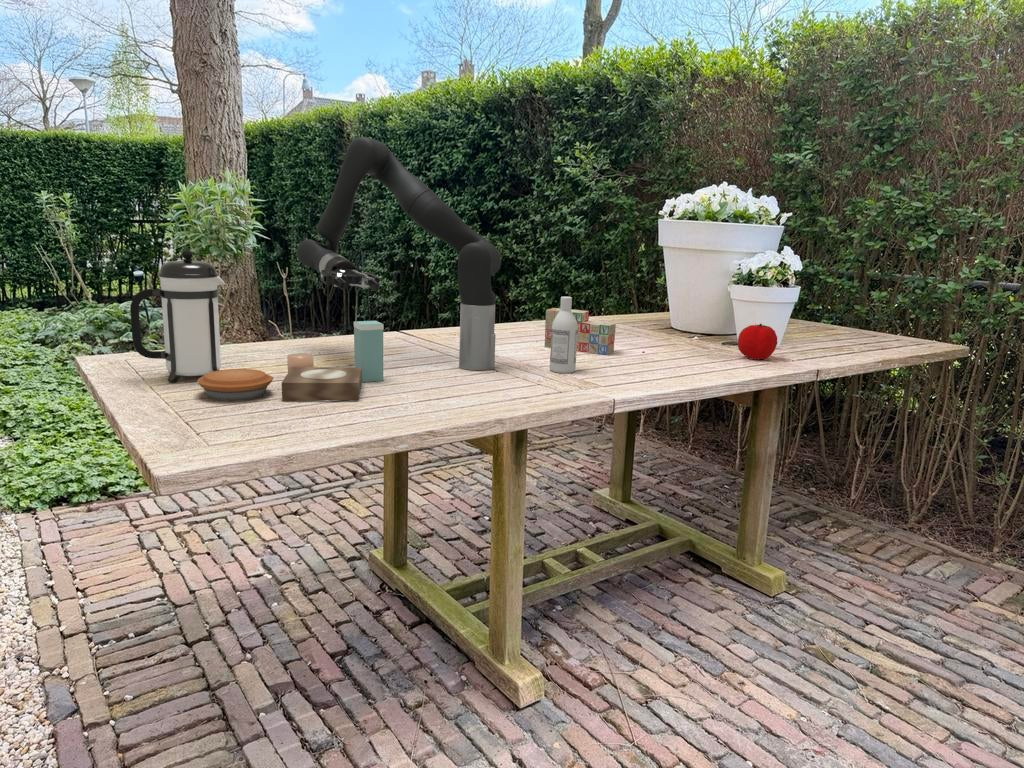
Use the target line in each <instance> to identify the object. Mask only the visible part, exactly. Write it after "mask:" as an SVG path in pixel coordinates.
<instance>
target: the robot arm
mask: <svg viewBox="0 0 1024 768" xmlns="http://www.w3.org/2000/svg"><path fill="white" fill-rule="evenodd" d="M366 175H371V177H374V178H376V179H377V180H378V181H379V182H381V183H382V184H383V185H384V186H385V187H386V188H388V189H389V190H390V192H392V194H393V195H394V196H395V197H394V198H396V201H397V202H398V204H399V206H400V207H401V209H402V210H403V212H404V213H405V214H406V215H407V217H409V218H410V219H411V220H412V221H413V222H414V223H415V224H416V225H418V226H419V227H420V228H421V229H422V230H424V231H426V233H429V235H432V236H433V237H435V238H437V239H438V240H441V242H443V243H446V244H447V245H449V246H450V247H451V248H453V249H454V251H456V252H457V253H458V258H457V290H458V293H459V296H460V307H459V308H460V311H459V313H460V315H459V316H460V317H459V319H460V321H459V351H458V353H459V356H458V357H459V359H458V361H459V364H458V366H459V368H461V369H464V370H469V371H488V370H495V365H496V364H495V363H496V362H495V361H496V360H495V359H496V333H495V326H496V325H495V324H496V294H495V293H494V291H493V290H492V276H493V275H494V274H496V273H497V272H498V271H499V270H500V268H501V266H502V258H501V253H500V251H499V250H498V249H497V247H496V246H495V245H494V244H492V243H491V242H490V241H489V240H487V239H486V238H484V237H483V236H481V234H479V233H478V232H476V231H475V230H474V229H473V228H471V227H470V226H469V225H468V224H466V222H465V221H464V220H463V219H462V218H461V217H460V216H459V215H458V214H457V213H456V212H455V211H454V210H453V209H452V208H451V207H450V206H449V205H448V204H446V202H445V201H444V200H443V199H441V198H440V196H438V195H437V194H436V192H434V191H433V190H432V189H431V188H430V187H429V186H427V185H426V184H425V183H424V182H423V181H422V180H420V179H419V178H418V177H417V176H415V175H414V174H412V173H411V172H410V171H409V170H408V169H407V168H406V167H405V166H404V165H403V164H402V163H401V161H400V160H399V159H398V158H397V157H396V156H395V155H394V153H393V152H391V150H390V149H389V148H388V146H386V145H385V144H384V143H383V142H381V141H379V140H377V139H374V138H370V137H366V136H359V137H356V138H355V139H353V140H352V141H351V142H350V144H349V146H348V148H347V150H346V153H345V156H344V159H343V162H342V166H341V168H340V172H339V174H338V177H337V180H336V183H335V186H334V190H333V191H332V195H331V197H330V199H329V201H328V203H327V205H326V207H325V209H324V212H323V213H322V214H321V216H320V219H319V220H318V222H317V225H316V230H315V231H316V233H317V234H318V235H319V236H320V237H322V238H323V239H325V240H326V243H325V244H323V243H321V242H318V241H316V240H313V239H305V240H302V241H301V242H300V243H299V245H298V247H297V249H296V250H297V251H296V256H297V259H298V260H299V262H300V263H301V264H303V265H304V266H307V267H308V268H311V269H313V270H316V271H317V272H318V273H319V274H320V282H323V284H324V285H325V286H327V287H330V286H331V285H333V287H336V288H339V289H340V290H342V291H346V290H347V288H348V287H351V286H352V287H354V286H355V287H359V288H369V289H370V290H372V291H373V292H378V290H380V289H379V288H380V281H381V277H379V276H378V275H375V274H373V273H372V272H370V271H369V272H367V273H363V272H360V271H358V270H357V266H356V265H355V264H354V263H353V262H352V261H350V260H349V259H347V258H345V256H342V255H341V254H338V249H339V248H338V247H339V244H340V240H341V238H342V236H343V233H344V232H345V230H346V228H347V226H348V224H349V222H350V221H351V220H350V219H351V216H352V213H353V209H354V202H355V198H356V193H357V189H358V188H359V186H360V184H361V183H362V180H363V179H364V177H365V176H366Z"/></svg>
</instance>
